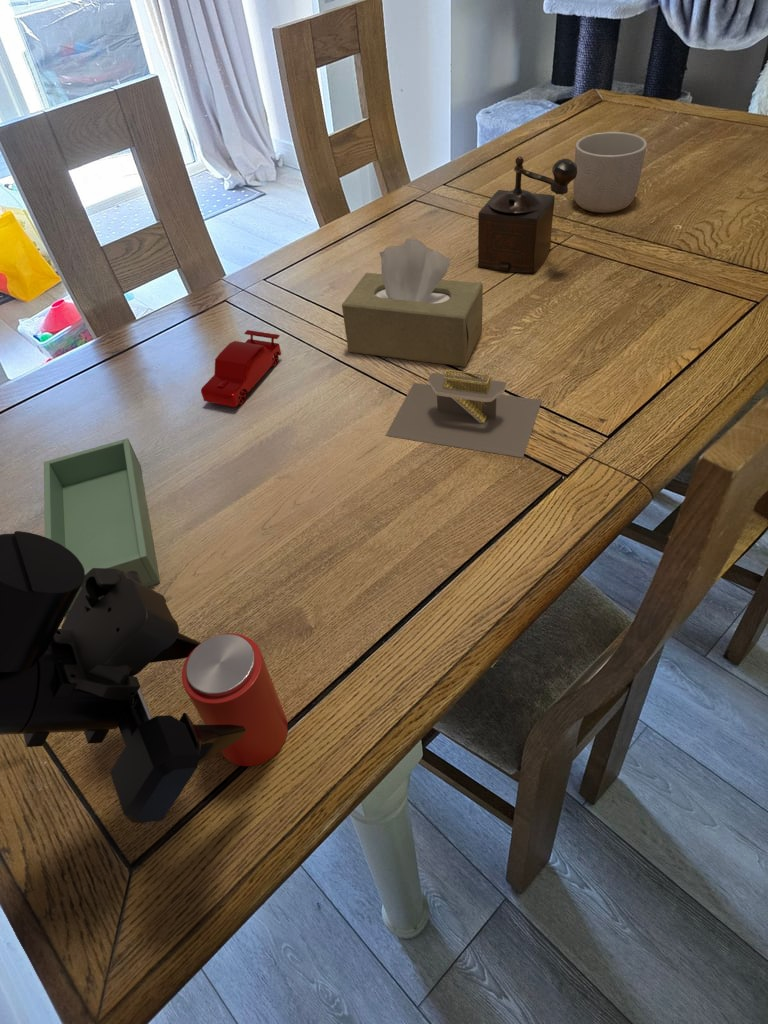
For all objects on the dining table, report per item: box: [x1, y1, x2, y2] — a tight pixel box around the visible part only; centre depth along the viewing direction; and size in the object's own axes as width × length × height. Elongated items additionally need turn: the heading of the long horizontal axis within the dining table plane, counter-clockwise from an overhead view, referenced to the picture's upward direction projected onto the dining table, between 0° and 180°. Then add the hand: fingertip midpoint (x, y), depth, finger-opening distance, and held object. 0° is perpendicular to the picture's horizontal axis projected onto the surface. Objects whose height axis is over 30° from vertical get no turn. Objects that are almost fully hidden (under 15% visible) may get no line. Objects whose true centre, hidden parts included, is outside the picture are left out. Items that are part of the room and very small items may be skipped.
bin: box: [43, 438, 161, 614], centre depth 81 cm, size 10×21×5 cm, turn 20°
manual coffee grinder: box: [477, 156, 577, 274], centre depth 114 cm, size 16×11×18 cm
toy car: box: [200, 329, 282, 408], centre depth 100 cm, size 14×6×5 cm, turn 158°
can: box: [181, 632, 289, 767], centre depth 59 cm, size 6×6×12 cm
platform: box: [385, 369, 543, 459], centre depth 89 cm, size 12×18×7 cm, turn 70°
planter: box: [572, 131, 648, 214], centre depth 129 cm, size 12×12×11 cm
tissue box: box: [341, 237, 484, 368], centre depth 100 cm, size 19×10×16 cm, turn 70°
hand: (220, 688), depth 56 cm, fingers open, 9 cm apart
